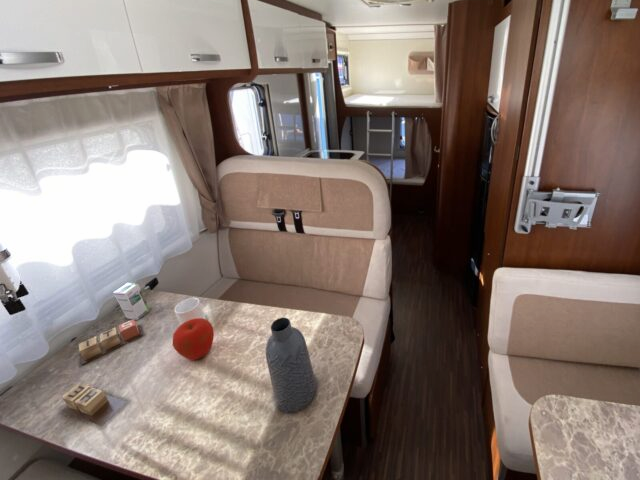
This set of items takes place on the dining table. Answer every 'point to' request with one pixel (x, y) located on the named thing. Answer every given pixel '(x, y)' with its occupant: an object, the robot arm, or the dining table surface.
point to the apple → (193, 338)
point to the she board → (100, 412)
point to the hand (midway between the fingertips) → (20, 304)
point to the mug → (189, 310)
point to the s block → (129, 329)
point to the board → (103, 344)
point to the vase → (289, 367)
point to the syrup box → (131, 301)
